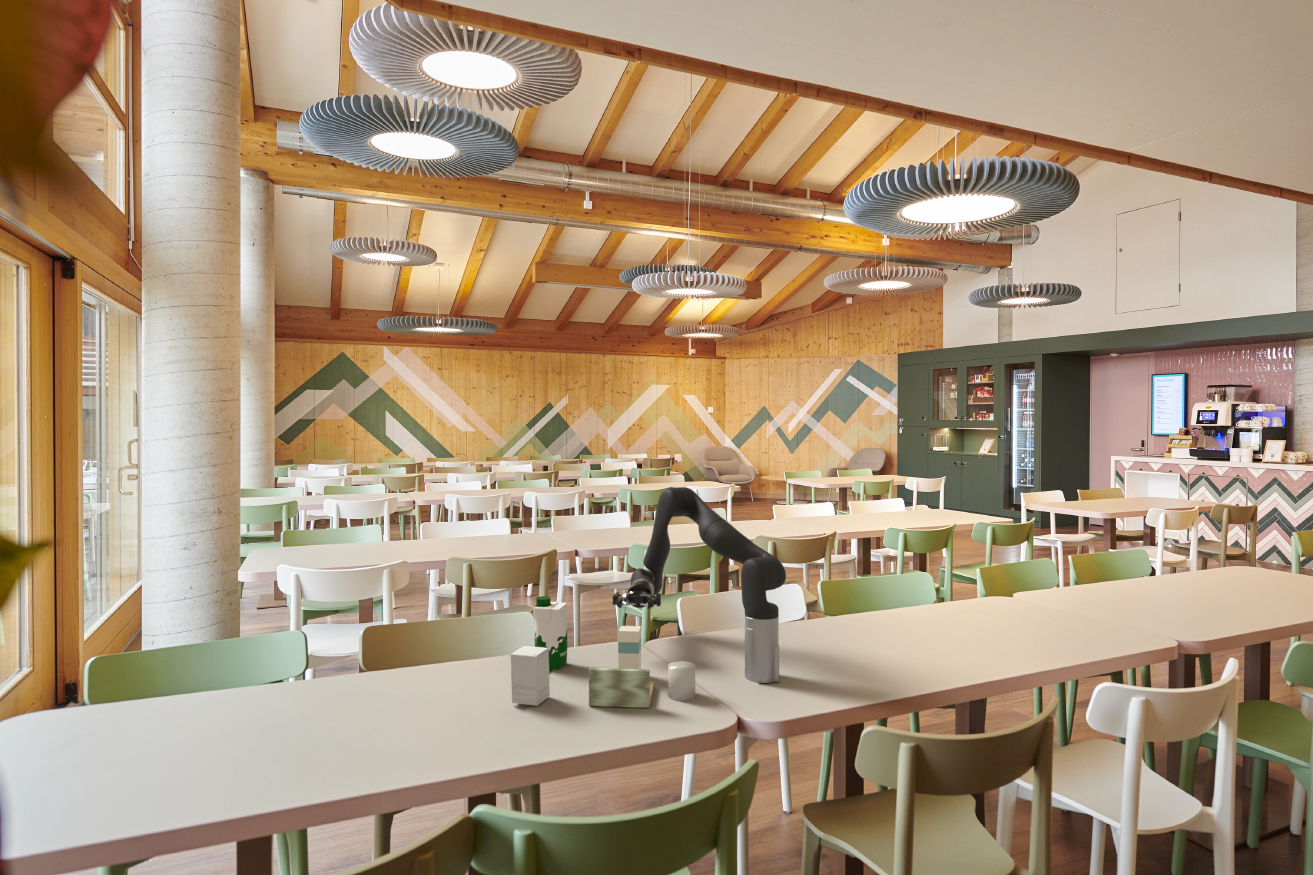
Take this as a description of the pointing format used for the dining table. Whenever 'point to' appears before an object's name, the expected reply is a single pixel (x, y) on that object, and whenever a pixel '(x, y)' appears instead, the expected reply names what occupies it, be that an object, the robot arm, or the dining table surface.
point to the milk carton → (551, 630)
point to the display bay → (620, 687)
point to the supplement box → (530, 675)
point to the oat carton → (629, 647)
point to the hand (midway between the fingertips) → (634, 604)
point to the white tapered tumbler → (681, 681)
